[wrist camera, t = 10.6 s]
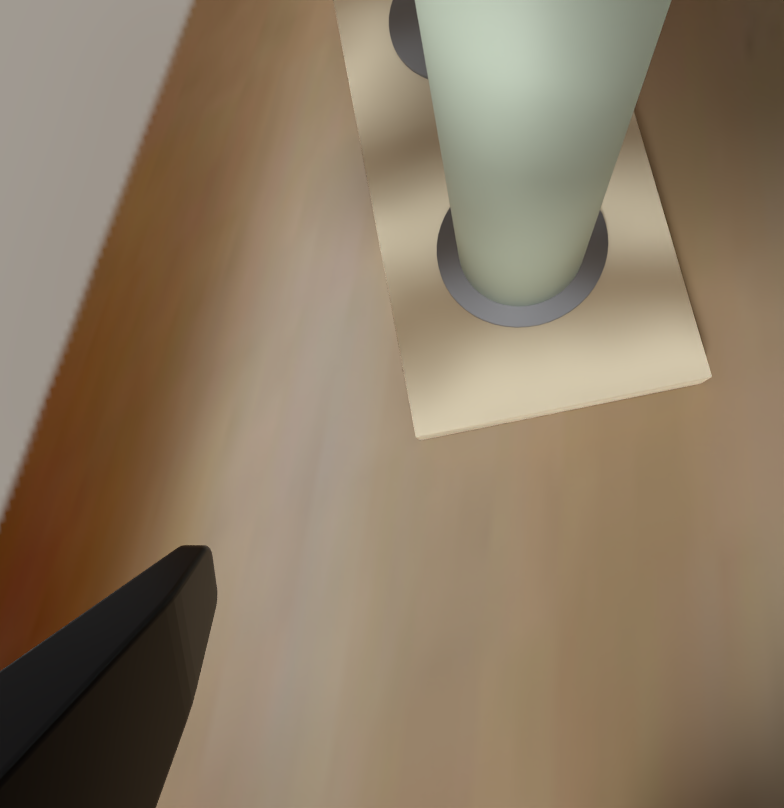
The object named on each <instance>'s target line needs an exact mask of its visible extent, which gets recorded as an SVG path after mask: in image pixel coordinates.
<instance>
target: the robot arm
mask: <svg viewBox="0 0 784 808" xmlns="http://www.w3.org/2000/svg"><path fill="white" fill-rule="evenodd" d="M216 604H217V585H216V578H215V571H214V564H213V557H212V552H211V550H210V548H209V547H208V546H205V545H184V546H180V547H178V548H177V549H175V550H174V551H172V552H171V553H170V554H168V555H167V556H165V557H164V558H162V559H161V560H159V561H158V562H157V563H155V564H154V565H152V566H151V567H149V568H148V569H147V570H145V571H144V572H142V573H141V574H139V575H138V576H136V577H135V578H134V579H132V580H131V581H129V582H128V583H126V584H125V585H124V586H122V587H121V588H119V589H118V590H116V591H115V592H113V593H112V594H111V595H109V596H108V597H106V598H105V599H103V600H102V601H101V602H99V603H98V604H96V605H95V606H93V607H92V608H90V609H89V610H88V611H86V612H85V613H83V614H82V615H80V616H79V617H78V618H76V619H75V620H73V621H72V622H70V623H69V624H68V625H66V626H65V627H63V628H62V629H60V630H59V631H57V632H56V633H55V634H53V635H52V636H50V637H49V638H47V639H46V640H45V641H43V642H42V643H40V644H39V645H37V646H36V647H34V648H33V649H32V650H30V651H29V652H27V653H26V654H24V655H23V656H22V657H20V658H19V659H17V660H16V661H14V662H13V663H11V664H10V665H9V666H7V667H6V668H4V669H3V670H1V671H0V808H156V806H157V803H158V800H159V797H160V794H161V792H162V789H163V786H164V783H165V780H166V778H167V775H168V772H169V769H170V767H171V764H172V761H173V758H174V755H175V753H176V750H177V747H178V744H179V742H180V739H181V736H182V733H183V730H184V728H185V725H186V722H187V719H188V716H189V713H190V710H191V707H192V704H193V700H194V696H195V692H196V689H197V685H198V680H199V676H200V672H201V668H202V664H203V659H204V655H205V651H206V647H207V643H208V638H209V634H210V630H211V626H212V622H213V617H214V613H215V609H216Z"/></svg>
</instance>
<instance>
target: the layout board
mask: <svg viewBox="0 0 784 808" xmlns="http://www.w3.org/2000/svg"><path fill="white" fill-rule="evenodd" d="M333 1H334V7H335V12H336V17H337V22H338V28H339V33H340V38H341V44H342V49H343V54H344V59H345V65H346V70H347V75H348V81H349V86H350V91H351V97H352V102H353V107H354V112H355V118H356V123H357V128H358V134H359V139H360V144H361V149H362V155H363V160H364V165H365V171H366V176H367V181H368V187H369V192H370V197H371V202H372V208H373V213H374V218H375V224H376V229H377V234H378V239H379V245H380V250H381V255H382V261H383V266H384V271H385V276H386V282H387V287H388V292H389V298H390V303H391V308H392V314H393V319H394V324H395V329H396V335H397V340H398V345H399V351H400V356H401V361H402V366H403V372H404V377H405V382H406V388H407V393H408V398H409V404H410V409H411V414H412V419H413V425H414V430H415V435H416V437H417V438H418V439H419V440H425V439H430V438H434V437H439V436H444V435H449V434H454V433H459V432H464V431H469V430H474V429H479V428H484V427H489V426H494V425H499V424H504V423H509V422H514V421H518V420H523V419H528V418H533V417H538V416H543V415H548V414H553V413H558V412H563V411H568V410H573V409H578V408H583V407H588V406H593V405H597V404H602V403H607V402H612V401H617V400H622V399H627V398H632V397H637V396H642V395H647V394H652V393H657V392H662V391H667V390H672V389H677V388H681V387H686V386H691V385H696V384H700V383H702V382H704V381H706V380H707V379H709V378H711V377H712V375H711V372H710V368H709V365H708V362H707V358H706V355H705V351H704V348H703V345H702V341H701V338H700V334H699V331H698V328H697V324H696V321H695V317H694V314H693V311H692V307H691V304H690V300H689V297H688V294H687V290H686V287H685V283H684V280H683V277H682V273H681V270H680V266H679V263H678V260H677V256H676V253H675V249H674V246H673V243H672V239H671V236H670V232H669V229H668V225H667V222H666V219H665V215H664V212H663V208H662V205H661V202H660V198H659V195H658V191H657V188H656V185H655V181H654V178H653V174H652V171H651V168H650V164H649V161H648V157H647V154H646V151H645V147H644V144H643V140H642V137H641V134H640V130H639V127H638V123H637V120H636V117H635V113H634V111H633V114H632V117H631V120H630V123H629V126H628V129H627V132H626V135H625V138H624V141H623V144H622V147H621V150H620V153H619V155H618V158H617V161H616V164H615V167H614V170H613V173H612V176H611V179H610V182H609V185H608V188H607V191H606V194H605V197H604V199H603V202H602V205H601V208H600V211H599V214H598V217H597V220H596V223H595V226H594V229H593V232H592V235H591V238H590V240H589V243H588V246H587V249H586V252H585V255H584V258H583V261H582V264H581V266H580V269H579V271H578V273H577V274H576V276H575V278H574V279H573V280H572V282H571V283H570V284H569V285H568V286H567V287H566V288H565V289H564V290H563V291H561V292H560V293H559V294H558V295H556V296H554V297H553V298H551V299H549V300H547V301H544V302H542V303H538V304H535V305H530V306H508V305H503V304H499V303H496V302H494V301H491V300H489V299H488V298H486V297H484V296H483V295H481V294H480V293H479V292H478V291H476V290H475V289H474V288H473V287H472V285H471V284H470V283H469V282H468V280H467V279H466V277H465V275H464V273H463V271H462V268H461V264H460V260H459V255H458V249H457V243H456V237H455V231H454V226H453V220H452V214H451V208H450V202H449V197H448V191H447V185H446V179H445V173H444V167H443V162H442V156H441V150H440V144H439V138H438V133H437V127H436V121H435V115H434V109H433V103H432V98H431V92H430V86H429V80H428V74H427V69H426V63H425V57H424V51H423V45H422V39H421V34H420V28H419V22H418V16H417V10H416V5H415V0H333Z"/></svg>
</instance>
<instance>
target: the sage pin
mask: <svg viewBox="0 0 784 808" xmlns="http://www.w3.org/2000/svg"><path fill="white" fill-rule="evenodd" d="M670 3H671V0H415V5H416V10H417V16H418V22H419V28H420V34H421V39H422V45H423V51H424V57H425V63H426V69H427V74H428V80H429V86H430V92H431V98H432V103H433V109H434V115H435V121H436V127H437V133H438V138H439V144H440V150H441V156H442V162H443V167H444V173H445V179H446V185H447V191H448V197H449V202H450V208H451V214H452V220H453V226H454V231H455V237H456V243H457V249H458V255H459V260H460V264H461V268H462V271H463V273H464V275H465V277H466V279H467V280H468V282H469V283H470V284H471V285H472V287H473V288H474V289H475V290H476V291H478V292H479V293H480V294H481V295H483V296H484V297H486V298H488V299H489V300H491V301H494V302H496V303H499V304H503V305H508V306H530V305H535V304H538V303H542V302H544V301H547V300H549V299H551V298H553V297H554V296H556V295H558V294H559V293H560V292H561V291H563V290H564V289H565V288H566V287H567V286H568V285H569V284H570V283H571V282H572V280H573V279H574V278H575V276H576V274H577V273H578V271H579V269H580V266H581V264H582V261H583V258H584V255H585V252H586V249H587V246H588V243H589V240H590V238H591V235H592V232H593V229H594V226H595V223H596V220H597V217H598V214H599V211H600V208H601V205H602V202H603V199H604V197H605V194H606V191H607V188H608V185H609V182H610V179H611V176H612V173H613V170H614V167H615V164H616V161H617V158H618V155H619V153H620V150H621V147H622V144H623V141H624V138H625V135H626V132H627V129H628V126H629V123H630V120H631V117H632V114H633V111H634V109H635V106H636V103H637V100H638V97H639V94H640V91H641V88H642V85H643V82H644V79H645V76H646V73H647V70H648V67H649V65H650V62H651V59H652V56H653V53H654V50H655V47H656V44H657V41H658V38H659V35H660V32H661V29H662V26H663V23H664V21H665V18H666V15H667V12H668V9H669V6H670Z"/></svg>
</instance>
